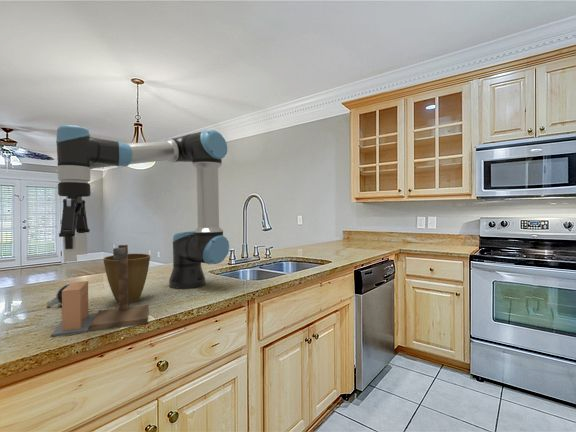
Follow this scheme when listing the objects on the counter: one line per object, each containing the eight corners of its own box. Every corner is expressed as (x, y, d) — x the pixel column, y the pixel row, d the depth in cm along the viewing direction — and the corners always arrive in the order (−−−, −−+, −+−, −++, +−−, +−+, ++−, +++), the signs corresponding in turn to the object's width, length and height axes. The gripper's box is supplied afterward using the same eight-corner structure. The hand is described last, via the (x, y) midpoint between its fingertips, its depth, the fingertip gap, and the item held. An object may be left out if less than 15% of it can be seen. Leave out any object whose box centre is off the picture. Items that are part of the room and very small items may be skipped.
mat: (97, 314, 96) (97, 312, 96) (87, 332, 82) (87, 329, 82) (66, 318, 93) (66, 316, 93) (50, 336, 79) (50, 334, 79)
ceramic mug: (84, 299, 114) (84, 278, 113) (83, 304, 107) (83, 282, 106) (48, 304, 108) (47, 282, 108) (45, 310, 101) (44, 287, 101)
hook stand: (148, 309, 101) (147, 242, 101) (147, 324, 88) (146, 247, 87) (98, 315, 96) (98, 244, 95) (89, 332, 82) (88, 250, 82)
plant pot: (97, 301, 110) (96, 256, 110) (139, 293, 122) (139, 252, 122) (114, 309, 101) (113, 260, 101) (158, 299, 112) (157, 255, 112)
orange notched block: (72, 317, 92) (72, 282, 92) (88, 315, 93) (88, 281, 93) (62, 330, 82) (61, 291, 82) (80, 328, 83) (79, 289, 83)
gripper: (69, 185, 97) (71, 252, 97) (43, 177, 74) (45, 266, 75) (97, 185, 100) (99, 251, 100) (80, 178, 77) (82, 263, 77)
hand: (76, 257), depth 87 cm, fingers open, 13 cm apart
